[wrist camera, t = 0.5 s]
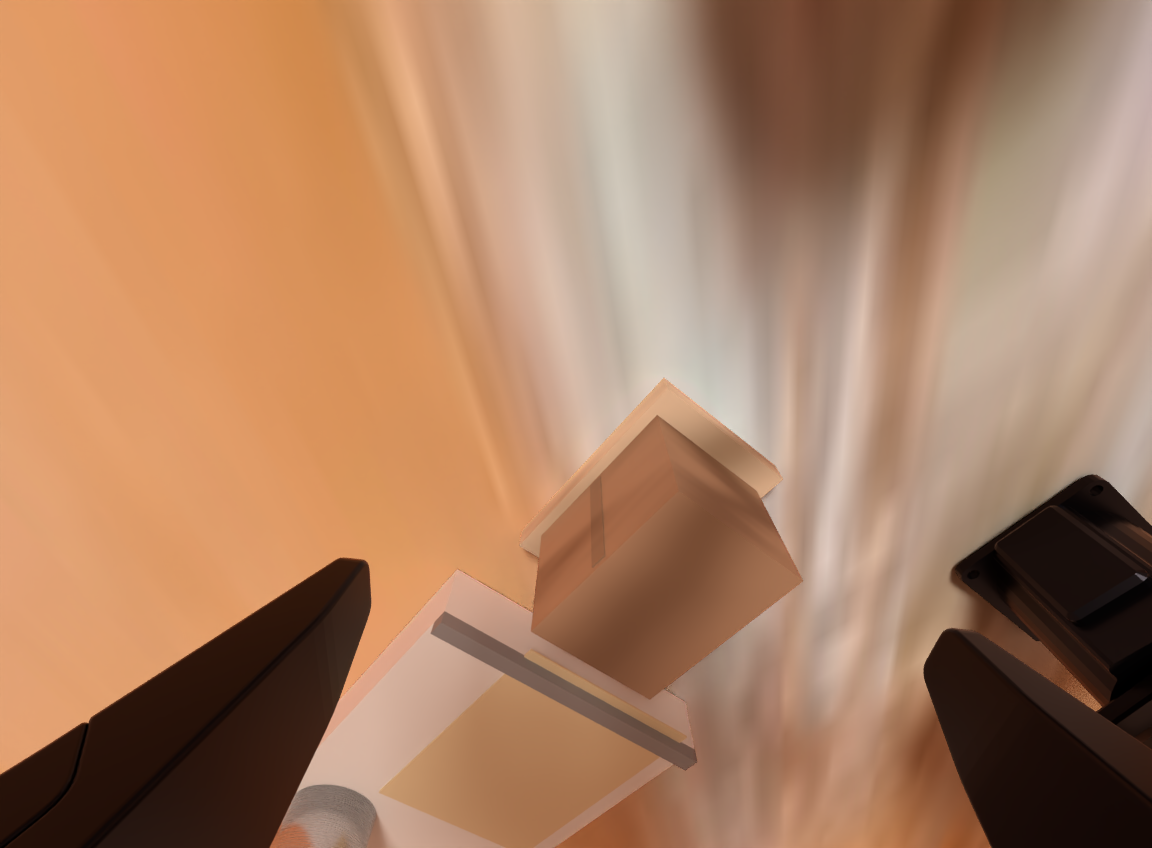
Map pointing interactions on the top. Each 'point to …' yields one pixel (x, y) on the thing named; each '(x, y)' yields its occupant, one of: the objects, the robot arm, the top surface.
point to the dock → (491, 732)
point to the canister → (326, 819)
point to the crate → (658, 546)
